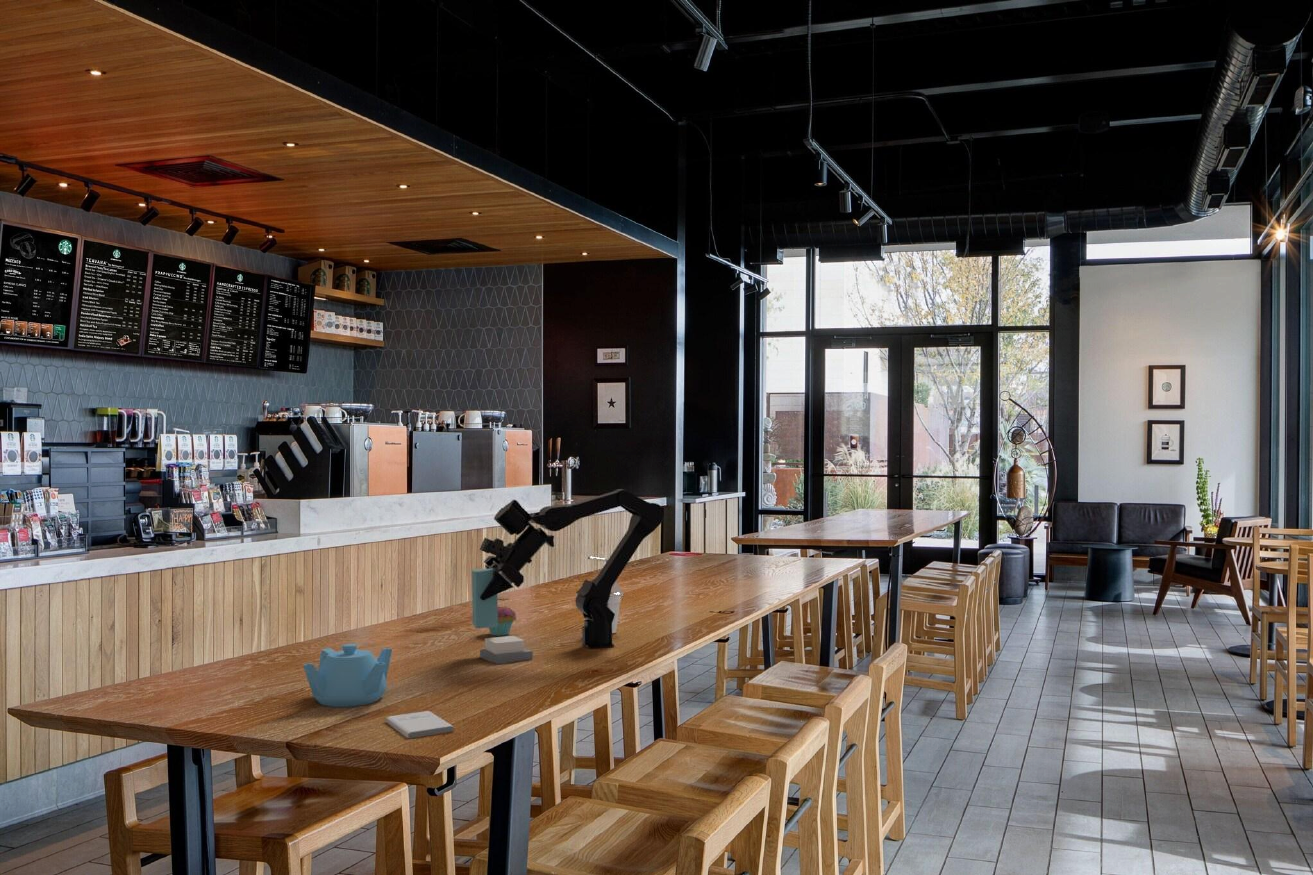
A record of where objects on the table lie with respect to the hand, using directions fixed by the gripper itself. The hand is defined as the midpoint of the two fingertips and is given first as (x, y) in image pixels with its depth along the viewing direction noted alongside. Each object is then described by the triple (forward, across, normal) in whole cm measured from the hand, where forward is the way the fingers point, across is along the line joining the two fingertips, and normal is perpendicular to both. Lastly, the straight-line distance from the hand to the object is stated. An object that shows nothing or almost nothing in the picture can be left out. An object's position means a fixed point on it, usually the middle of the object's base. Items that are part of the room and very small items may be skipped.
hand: (478, 597), depth 250 cm
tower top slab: (+5, +6, +12) cm, 14 cm away
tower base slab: (+6, +6, +14) cm, 16 cm away
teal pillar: (+4, 0, +6) cm, 7 cm away
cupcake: (+2, -25, +17) cm, 30 cm away
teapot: (+32, +33, -13) cm, 48 cm away
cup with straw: (-16, -17, +36) cm, 43 cm away
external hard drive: (+26, +58, -6) cm, 64 cm away
